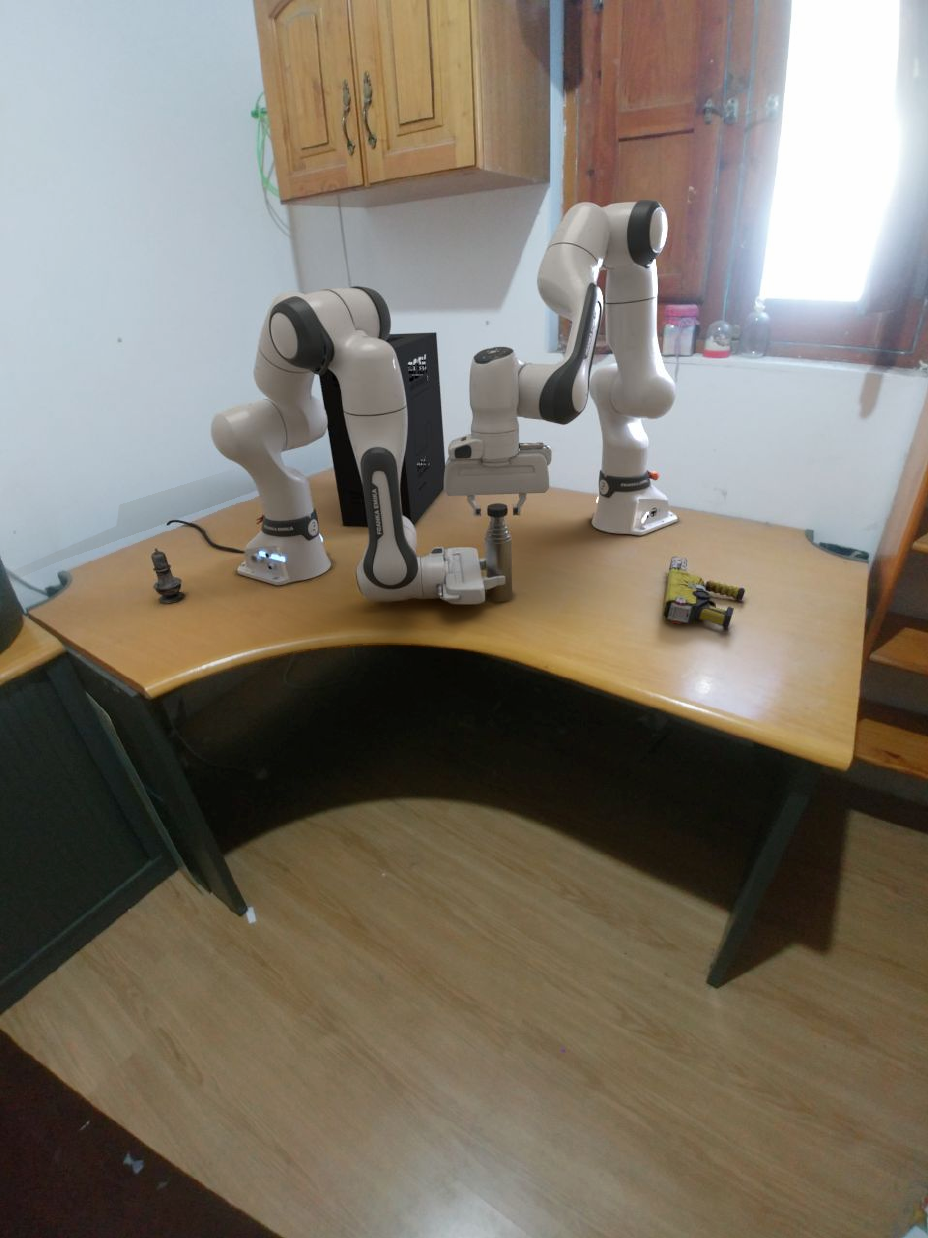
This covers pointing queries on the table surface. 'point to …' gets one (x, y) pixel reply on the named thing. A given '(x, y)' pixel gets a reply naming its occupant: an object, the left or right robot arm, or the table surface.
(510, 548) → the bottle
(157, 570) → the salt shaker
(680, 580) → the toy gun
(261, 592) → the table surface
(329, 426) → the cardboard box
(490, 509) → the cap
